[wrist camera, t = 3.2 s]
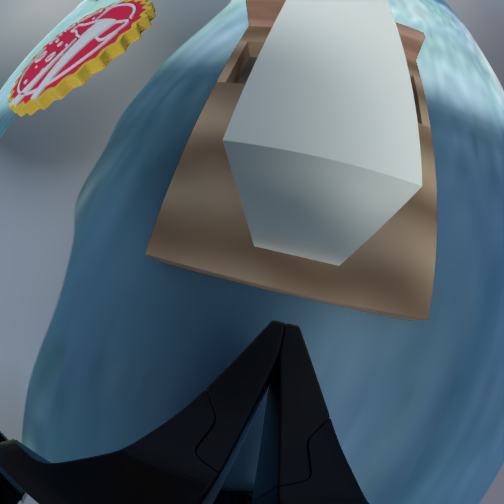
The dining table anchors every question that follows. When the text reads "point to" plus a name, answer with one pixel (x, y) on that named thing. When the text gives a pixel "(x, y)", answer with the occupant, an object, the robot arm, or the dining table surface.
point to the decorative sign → (79, 54)
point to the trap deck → (281, 264)
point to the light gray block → (325, 130)
